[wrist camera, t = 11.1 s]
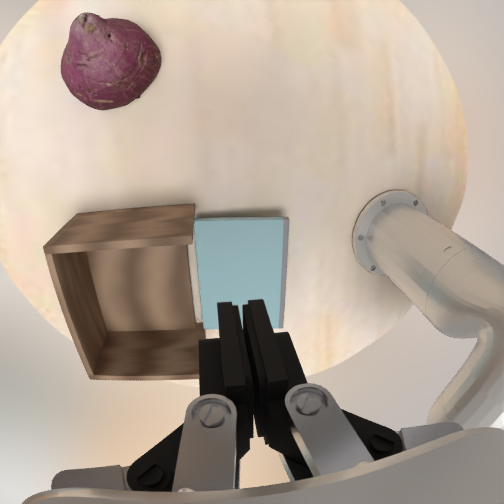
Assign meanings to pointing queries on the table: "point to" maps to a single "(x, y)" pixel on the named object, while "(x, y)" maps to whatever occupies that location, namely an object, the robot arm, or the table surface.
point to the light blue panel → (242, 264)
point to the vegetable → (108, 61)
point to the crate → (129, 292)
